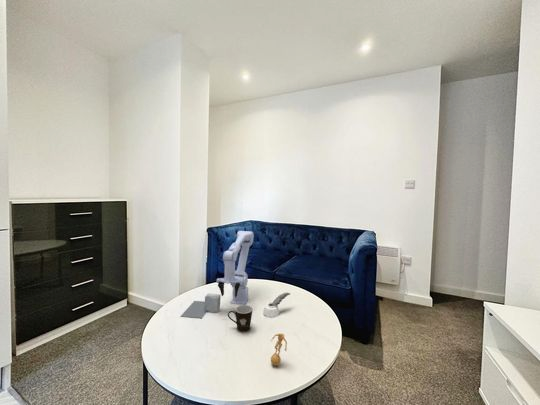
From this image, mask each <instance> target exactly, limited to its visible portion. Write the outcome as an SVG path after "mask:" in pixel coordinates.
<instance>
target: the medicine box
mask: <svg viewBox="0 0 540 405" xmlns="http://www.w3.org/2000/svg"><path fill="white" fill-rule="evenodd" d="M221 297H222V295H221V294H219V293H218V294H217V293H209V292H208V293H207V294H206V295H205V296H204V302H205V308H204V311H207V312H211V313H219V311H220V310H221Z"/></svg>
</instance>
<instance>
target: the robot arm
mask: <svg viewBox="0 0 540 405" xmlns="http://www.w3.org/2000/svg"><path fill="white" fill-rule="evenodd" d="M254 236H255V234H254V231H248V230H246V231H245V230H238V231H237V233H236V240H235V242H233V243H232V244H231V245H230V246H229V248H228V250H226V251H224V252H223V254H222V261H223V265H224V277H221V278H219V277H218V278H216V284H217V287H218V289H219V291H220V295H221V297H224V294H225V284H229V285H230V286H231V288H232V299H231V301H230V303H231V304H239V305H240V304H241V305H247V302H248V300H249V287H247V285H248V281H249V280H248V278H249V275H248V274H247V272H246V265H247V260H248V255H249V249H250V247H251V246H252V245H253V242H254ZM239 252H240V253H239ZM238 253H239V254H240V255H239V259H238ZM237 259H238V264H237V268H236V261H237Z"/></svg>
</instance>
